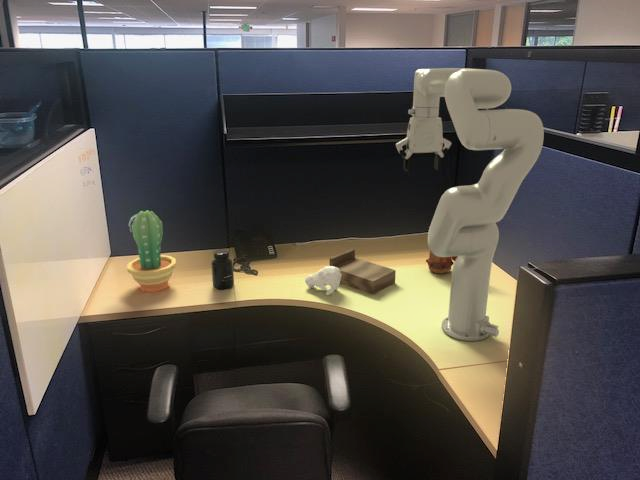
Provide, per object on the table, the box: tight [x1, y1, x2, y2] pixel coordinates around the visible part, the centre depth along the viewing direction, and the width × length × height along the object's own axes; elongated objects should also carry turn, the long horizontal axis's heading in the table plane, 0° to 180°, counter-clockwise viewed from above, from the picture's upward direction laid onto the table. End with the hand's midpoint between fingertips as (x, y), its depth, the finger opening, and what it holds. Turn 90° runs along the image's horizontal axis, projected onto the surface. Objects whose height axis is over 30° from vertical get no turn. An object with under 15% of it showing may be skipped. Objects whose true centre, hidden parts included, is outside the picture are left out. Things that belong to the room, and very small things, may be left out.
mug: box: [425, 250, 458, 274], centre depth 174 cm, size 15×8×15 cm, turn 62°
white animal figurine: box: [304, 265, 342, 296], centre depth 162 cm, size 6×8×12 cm
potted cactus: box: [126, 209, 177, 293], centre depth 164 cm, size 15×15×25 cm
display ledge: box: [329, 248, 397, 295], centre depth 169 cm, size 18×12×8 cm, turn 47°
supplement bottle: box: [210, 248, 235, 291], centre depth 165 cm, size 7×7×12 cm
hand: (422, 170), depth 157 cm, fingers open, 9 cm apart
